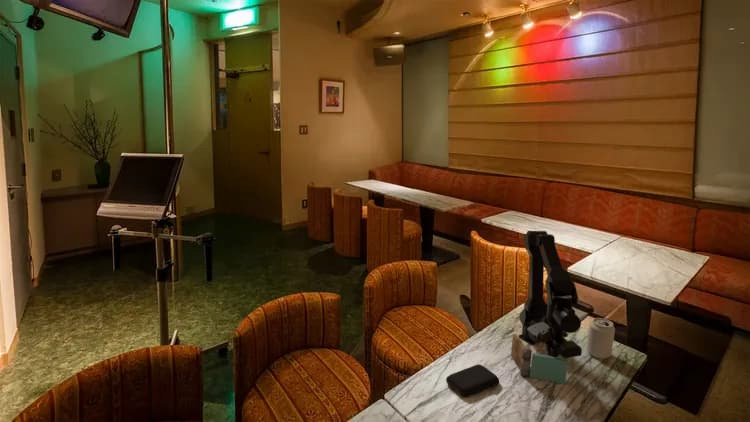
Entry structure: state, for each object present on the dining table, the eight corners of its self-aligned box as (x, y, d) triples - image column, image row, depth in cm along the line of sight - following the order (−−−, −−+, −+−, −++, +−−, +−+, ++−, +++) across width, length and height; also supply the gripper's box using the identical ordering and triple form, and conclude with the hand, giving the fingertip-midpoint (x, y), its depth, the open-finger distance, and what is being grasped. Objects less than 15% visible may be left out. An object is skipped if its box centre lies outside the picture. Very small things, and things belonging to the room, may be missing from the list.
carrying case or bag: (466, 403, 125) (504, 387, 132) (467, 394, 125) (505, 378, 132) (443, 383, 134) (479, 369, 141) (443, 374, 134) (480, 360, 141)
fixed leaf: (530, 377, 137) (533, 352, 134) (522, 377, 136) (524, 353, 134) (516, 355, 148) (518, 332, 146) (508, 355, 148) (510, 332, 146)
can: (613, 361, 145) (619, 328, 142) (589, 358, 147) (593, 326, 144) (607, 349, 152) (611, 317, 149) (583, 346, 154) (588, 315, 151)
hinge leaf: (520, 375, 137) (522, 353, 135) (520, 371, 139) (522, 349, 137) (565, 385, 132) (568, 363, 130) (565, 380, 135) (567, 358, 133)
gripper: (516, 305, 142) (512, 348, 146) (551, 334, 124) (546, 382, 128) (547, 301, 145) (542, 344, 148) (585, 330, 127) (579, 377, 131)
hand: (551, 361), depth 139 cm, fingers closed
